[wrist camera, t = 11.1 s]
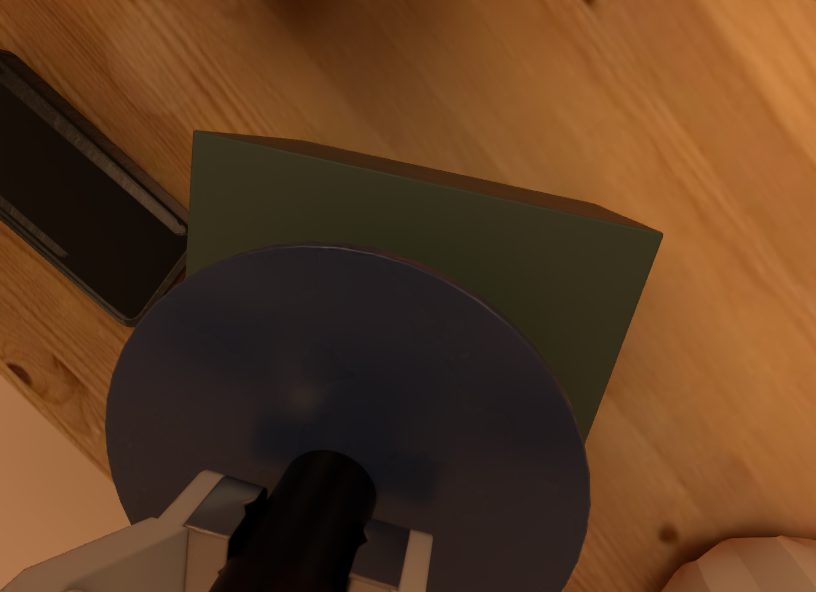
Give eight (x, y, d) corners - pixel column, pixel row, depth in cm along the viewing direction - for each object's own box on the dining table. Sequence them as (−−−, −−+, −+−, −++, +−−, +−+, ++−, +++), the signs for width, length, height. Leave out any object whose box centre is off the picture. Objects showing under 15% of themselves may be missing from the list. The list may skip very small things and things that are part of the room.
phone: (-23, 34, 24) (203, 239, 25) (-1, 40, 25) (215, 236, 26) (-77, 155, 26) (131, 336, 27) (-55, 155, 27) (145, 329, 28)
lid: (130, 569, 15) (-36, 761, 10) (138, 185, 11) (-119, 205, 7) (507, 688, 14) (519, 966, 9) (657, 306, 10) (809, 440, 5)
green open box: (268, 395, 28) (172, 499, 20) (299, 139, 24) (192, 129, 15) (512, 460, 27) (524, 604, 18) (595, 204, 22) (665, 233, 14)
